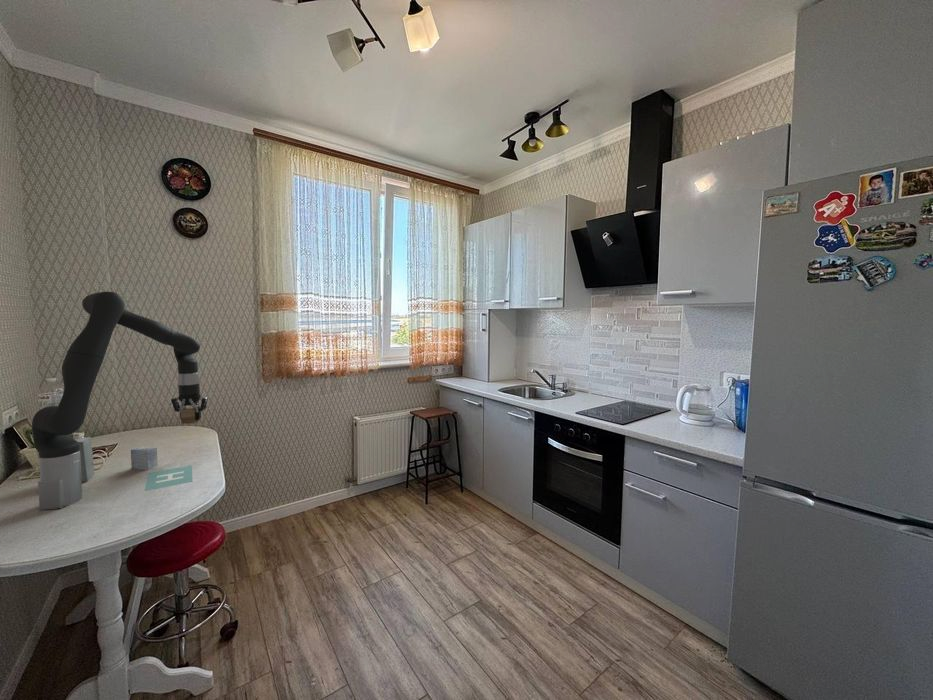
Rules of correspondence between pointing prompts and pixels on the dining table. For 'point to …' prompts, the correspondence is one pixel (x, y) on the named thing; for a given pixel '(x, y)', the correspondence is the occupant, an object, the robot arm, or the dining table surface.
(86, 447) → the skincare box
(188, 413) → the walnut block
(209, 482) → the dining table surface
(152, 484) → the letter card
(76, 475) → the robot arm
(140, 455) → the medicine box
